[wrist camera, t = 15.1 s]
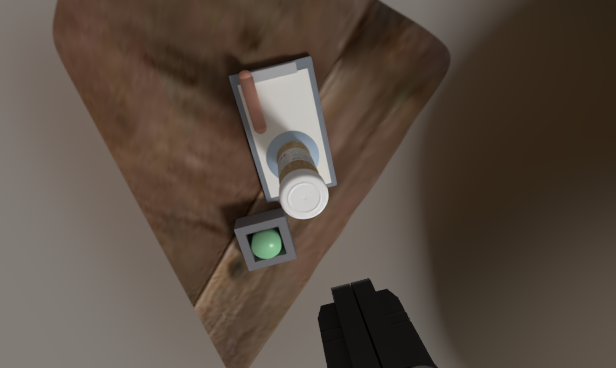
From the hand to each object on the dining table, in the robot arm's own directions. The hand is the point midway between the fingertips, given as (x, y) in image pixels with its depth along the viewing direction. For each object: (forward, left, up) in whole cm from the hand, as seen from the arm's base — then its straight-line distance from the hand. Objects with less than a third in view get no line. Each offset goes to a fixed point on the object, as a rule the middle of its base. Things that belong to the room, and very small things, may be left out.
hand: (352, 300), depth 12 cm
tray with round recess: (0, -1, -30) cm, 30 cm away
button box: (+13, -7, -30) cm, 34 cm away
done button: (+13, -7, -30) cm, 34 cm away
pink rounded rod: (-5, -4, -30) cm, 31 cm away
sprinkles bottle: (+3, -1, -30) cm, 30 cm away
